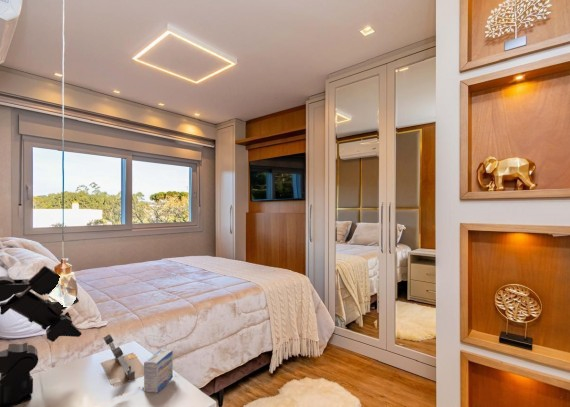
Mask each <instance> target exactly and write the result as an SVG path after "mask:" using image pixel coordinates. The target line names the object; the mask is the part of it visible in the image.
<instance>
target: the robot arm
mask: <svg viewBox="0 0 570 407" xmlns="http://www.w3.org/2000/svg"><path fill="white" fill-rule="evenodd" d="M59 278H60V276H59V275H58V274H57V273H55V272H54V270H53V269H51V268H49V267H48V266H46V265H43V266H42V267H41V268H40V269H38V271H37V272H36V273H35V274H34V275H33V276H32V277H30V278H28V279H27V278H23V279H21V278H18V279H13V278H12V277H9V276H5V275H4V276H3V275H2V276H0V315H4V314H5V313H7V312H8V311H9V310H12V311H13V312H16V313H17V314H19V315H21V316H23V317H24V318H26V319H27V321H28V322H30V323H31V324H32V323H34V324H36V325H38V326H41V329H42V330H44V331H45V336H46V339H47V340H49V341H50V342H52V343H53V342H55V341H56V340H57V339H58V338H59V337H75V338H78V337H81V336H82V334H83V333H82V332H81V330H79V329H78V327H77V326H75V325H74V323H73V320H72V317H71V315H70V313H69V311H67V312H65V313H64V311H65V310H66V309H68V307H63V305H61V304H60V303H59V302H51V301H52V300H50V299H44V298H42V297H40V296H43V295H44V296H45V295H50V294H51V293H52V292H53V291H54V290H55V289H56V288H57V287H56V285H57V284H58V281H59ZM55 287H56V288H55ZM54 288H55V289H54ZM53 289H54V290H53ZM52 290H53V291H52ZM34 292H35V293H34ZM37 294H38V295H37ZM79 301H80V300H79V298H78V297H76V300H75V301H74V303H73V304H72V305H71V306H73V305H76V304H77V303H79ZM63 313H64V314H63ZM38 364H39V352H38V349H37V348H36V346H34V345H32V344H28V342H24V343H9V344H8V347H7V348H6V349H4V350H0V407H13V406H16V405H19V404H21V403H24V402H26V401H30V400H31V399H32V394H33V393H34V379H33V375H31V371H32V370H34V369H35V368H36V366H38Z"/></svg>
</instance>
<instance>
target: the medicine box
mask: <svg viewBox="0 0 570 407" xmlns="http://www.w3.org/2000/svg"><path fill="white" fill-rule="evenodd" d="M173 355H174V354H173V350H168V349H160V350H158V351H157V352H156V353H155V354H153V355H152V356H151V357H150V358H148V359H147V360H146V361H143V366H144V376H143V392H148V393H156V394H158V393H159V392H160V391H161V390H162V389H163V388H164V387H165V386H166V385H167V384H168V383H169V382H170V381H171V380H173V370H174V368H173V364H174V362H173V360H174V359H173V358H174V357H173Z"/></svg>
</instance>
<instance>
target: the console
mask: <svg viewBox="0 0 570 407" xmlns="http://www.w3.org/2000/svg"><path fill="white" fill-rule="evenodd" d="M122 356H123V358H124V360H125V362H126V364H127V365H128V367H129V369H130V371H131V372H129V373H128V377H127V375H126V374H125V372H124V370H123V368H122V366H121V364H120V362H119V360H118V362H117V360H116V359H115V357H114V358H112V359H108V360H105V361H102V362H100V365H101V367H102V368H103V370H104V372H105V374H106V376H107V377H108V380H109V382H110V384H111V385H112V387H113V388H115V387H118V386H120V385H123V384H126V383H128V382H131V381H134V380H137V379H139V378H142V377H144V363H142V362H141V360H140V359H139V358H138V355H136V353H134V352H131V353H127V354H123V355H122Z"/></svg>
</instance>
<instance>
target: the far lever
mask: <svg viewBox="0 0 570 407" xmlns="http://www.w3.org/2000/svg"><path fill="white" fill-rule="evenodd" d="M102 339H103V340H104V343H105V344H106V345H108V347H109V349H110V351H111V353H112V354H113V352H112V350H114V349H116V348H117V347H116V346H115V344H114V339H113V336H112V335H111V334H107V335H105V336H104V337H102ZM113 356H114V354H113ZM114 358H115V359H116V357H115V356H114ZM116 360H117V362H118V358H117V359H116Z"/></svg>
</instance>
